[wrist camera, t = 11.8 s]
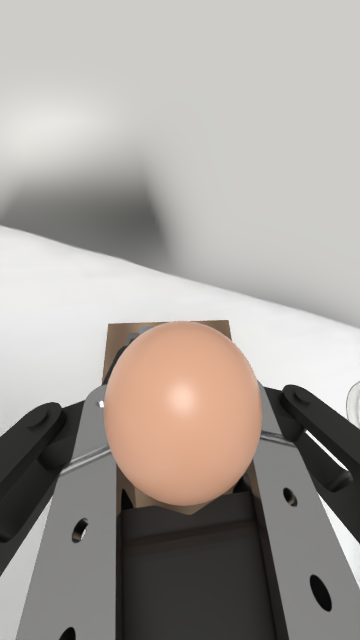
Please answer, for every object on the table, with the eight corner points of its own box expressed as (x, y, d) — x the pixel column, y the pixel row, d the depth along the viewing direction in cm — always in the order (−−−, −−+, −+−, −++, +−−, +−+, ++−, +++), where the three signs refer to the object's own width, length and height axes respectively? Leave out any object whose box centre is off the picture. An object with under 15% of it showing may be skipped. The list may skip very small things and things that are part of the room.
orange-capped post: (152, 394, 14) (1, 682, 1) (153, 351, 15) (76, 297, 3) (194, 391, 14) (373, 592, 2) (191, 349, 16) (279, 293, 3)
